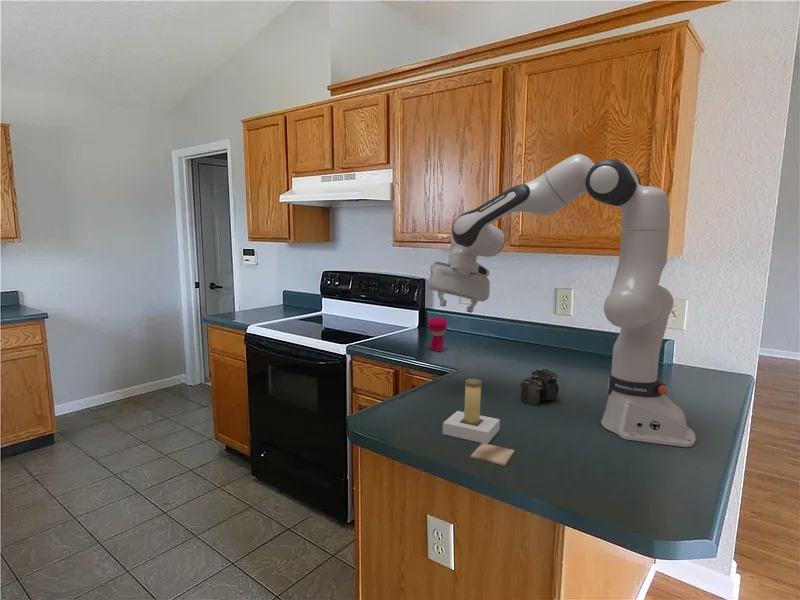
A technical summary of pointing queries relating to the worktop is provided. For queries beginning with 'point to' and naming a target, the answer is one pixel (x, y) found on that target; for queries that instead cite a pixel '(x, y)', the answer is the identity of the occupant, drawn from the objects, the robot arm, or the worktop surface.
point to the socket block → (471, 428)
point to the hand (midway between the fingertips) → (456, 309)
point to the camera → (539, 387)
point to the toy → (437, 332)
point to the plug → (472, 401)
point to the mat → (492, 454)
